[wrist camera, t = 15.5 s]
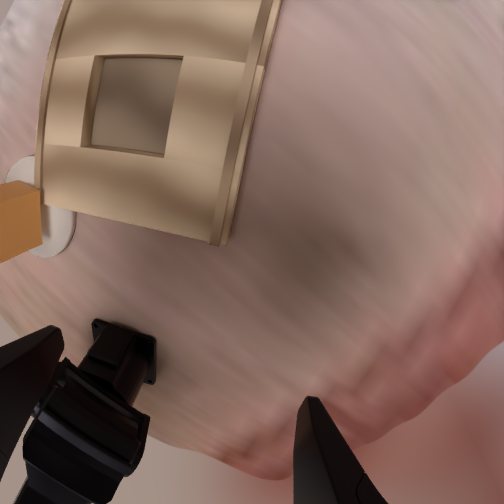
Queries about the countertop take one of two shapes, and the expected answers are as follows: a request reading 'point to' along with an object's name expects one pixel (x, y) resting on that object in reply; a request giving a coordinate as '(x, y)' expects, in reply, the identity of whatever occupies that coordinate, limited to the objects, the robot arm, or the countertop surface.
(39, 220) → the block
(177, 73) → the board
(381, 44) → the countertop surface
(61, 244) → the dish
